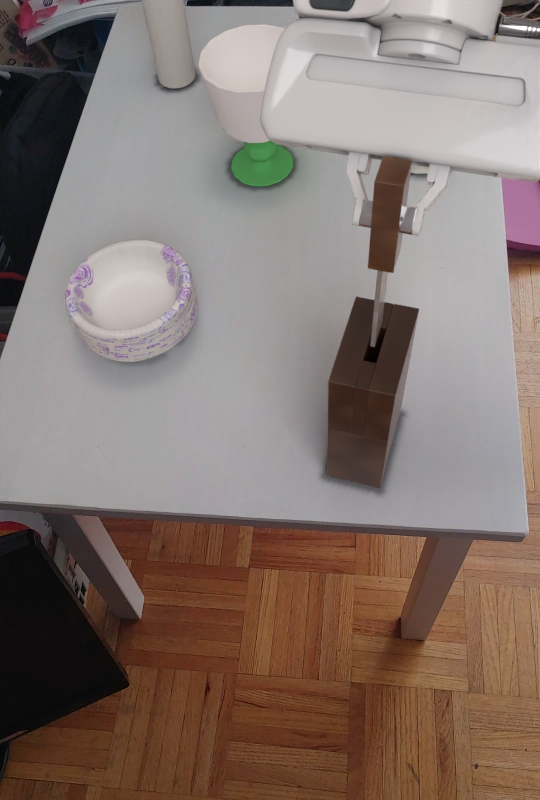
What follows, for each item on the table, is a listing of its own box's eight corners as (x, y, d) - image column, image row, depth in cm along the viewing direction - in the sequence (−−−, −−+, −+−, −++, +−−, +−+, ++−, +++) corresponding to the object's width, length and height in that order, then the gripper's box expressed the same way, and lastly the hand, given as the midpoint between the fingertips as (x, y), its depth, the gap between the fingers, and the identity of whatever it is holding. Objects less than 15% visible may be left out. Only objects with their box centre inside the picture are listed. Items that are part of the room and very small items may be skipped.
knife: (361, 344, 61) (373, 183, 46) (369, 318, 62) (383, 153, 47) (383, 349, 61) (403, 188, 46) (391, 322, 62) (413, 157, 47)
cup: (203, 192, 99) (184, 86, 85) (229, 129, 105) (214, 19, 91) (298, 203, 97) (293, 96, 83) (318, 138, 103) (317, 27, 89)
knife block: (326, 475, 77) (328, 381, 61) (349, 402, 82) (355, 296, 66) (380, 488, 76) (395, 396, 60) (400, 413, 80) (419, 308, 64)
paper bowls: (71, 305, 91) (50, 260, 84) (181, 268, 93) (170, 222, 86) (99, 394, 84) (79, 354, 77) (218, 353, 86) (209, 310, 79)
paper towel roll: (187, 92, 110) (159, -64, 91) (152, 86, 111) (117, -68, 92) (204, 64, 113) (180, -92, 94) (170, 59, 114) (139, -97, 95)
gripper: (588, 40, 47) (529, 255, 51) (294, 8, 50) (264, 211, 55) (606, 9, 41) (538, 254, 45) (271, -24, 45) (240, 205, 49)
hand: (385, 230), depth 50 cm, fingers closed on knife, 2 cm apart
